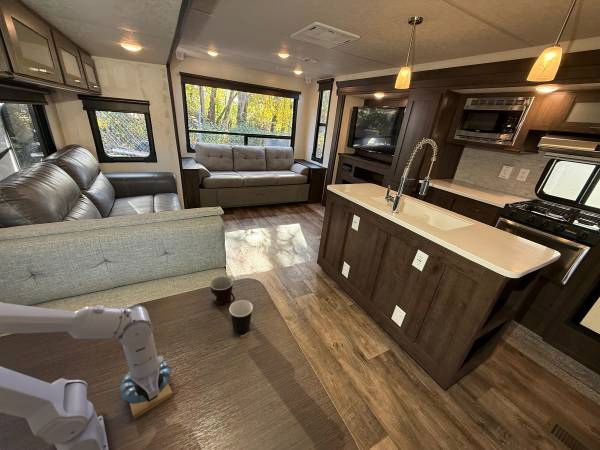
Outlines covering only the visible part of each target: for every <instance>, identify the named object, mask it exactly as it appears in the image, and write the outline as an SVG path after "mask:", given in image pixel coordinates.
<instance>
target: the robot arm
mask: <svg viewBox="0 0 600 450" xmlns="http://www.w3.org/2000/svg"><path fill="white" fill-rule="evenodd" d="M66 332H67V334H69V335H70V336H71V337H72V338H73V339H74V340H78V339H79V340H83V339H84V340H85V339H86V340H118V342H119V343H120V344H121V345H122V349H123V352H124V355H125V360H126V363H127V366H128V370H129V371H128V372H129V375H130V378H131V379H132V380H133V381H134V382H135V386H134V387H135V390H136V393H137V394H138V395H142V396H144V397H145V399H146V400H147V401H148V402H150V401H151V400H153V399H155V398H156V397H157V396H158V394H160V393H159V387H160V385H161V384H162V382H163V375H162V373H160V374H159V367H160V365H161V364H163V363H164V361H165V359H164V356H163V355H159V356H158V354H157V353H158V352H157V347H156V343H155V338H154V334H153V332H154V326H152V323H151V319H150V316H149V312H148V309H147V308H146V307H145V306H144V305H140V304H137V303H135V304H134V303H133V304H130V305H127V306H125V307H119V308H115V307H114V308H113V307H105V306H104V305H102V304H96V305H95V306H89V305H87V306H84V307H82V308H79V309H78V310H75V311H71V310H64V309H54V308H46V307H38V306H31V305H22V304H15V303H6V302H2V301H0V336H2V335H13V334H14V335H15V334H39V333H40V334H41V333H43V334H44V333H66ZM88 387H89V385H88V383H87V382H86V381H85V380H82V379H67V378H62V377H61V378H59V379H57V380H55V381H53V382H51V383H50V382H47V381H44V380H41V379H38V378H36V377H33V376H29V375H27V374H25V373H21V372H18V371H15V370H13V369H10V368H7V367H3V366H1V365H0V414H4V415H5V414H6V415H9V416H14V417H19V418H22V419H25V420H26V421H27V424H28V426H29V428H30V430H31V433H32V434H33V436H35V437H39V438H42V440H43V441H44V443H46V444H48V445H54V447H55V448H56V450H109V449H110V448H109V443H108V438H107V432H106V426H105V421H104V416H103V415H99V416H98V415H97V414H98V413H97V412H96V409H95V406H94V404H93V403H92V402H91V401H90V400H89V399H88Z"/></svg>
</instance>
